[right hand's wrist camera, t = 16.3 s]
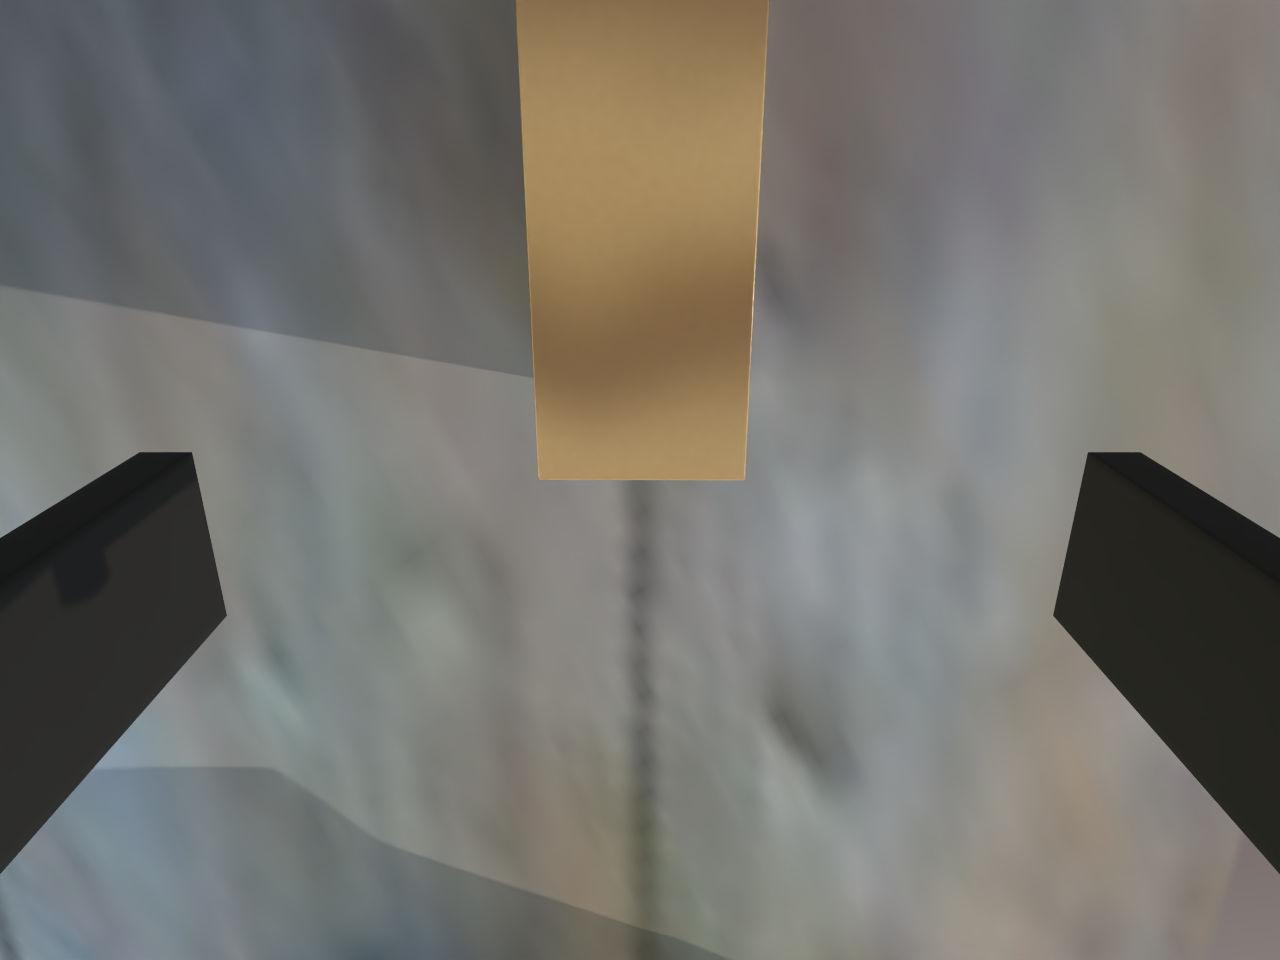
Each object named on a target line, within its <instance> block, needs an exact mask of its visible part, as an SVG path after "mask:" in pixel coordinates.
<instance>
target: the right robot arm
mask: <svg viewBox="0 0 1280 960" xmlns="http://www.w3.org/2000/svg"><path fill="white" fill-rule="evenodd" d="M226 616H227V614H226V610H225V605H224V600H223V596H222V591H221V586H220V582H219V577H218V572H217V568H216V563H215V558H214V553H213V549H212V544H211V539H210V535H209V530H208V525H207V521H206V516H205V511H204V507H203V502H202V497H201V493H200V488H199V483H198V479H197V474H196V469H195V464H194V460H193V455H192V452H139V453H138V454H136V455H135V456H133V457H131V458H130V459H128V460H126V461H125V462H123V463H122V464H120V465H118V466H117V467H115V468H114V469H112V470H110V471H109V472H107V473H105V474H104V475H102V476H101V477H99V478H97V479H96V480H94V481H92V482H91V483H89V484H88V485H86V486H84V487H83V488H81V489H79V490H78V491H76V492H75V493H73V494H71V495H70V496H68V497H66V498H65V499H63V500H62V501H60V502H58V503H57V504H55V505H53V506H52V507H50V508H49V509H47V510H45V511H44V512H42V513H40V514H39V515H37V516H36V517H34V518H32V519H31V520H29V521H27V522H26V523H24V524H23V525H21V526H19V527H18V528H16V529H14V530H13V531H11V532H10V533H8V534H6V535H5V536H3V537H1V538H0V874H1V873H2V871H3V870H4V869H5V868H6V867H7V866H8V865H9V863H10V862H11V861H12V860H13V859H14V858H15V857H16V855H17V854H18V853H19V852H20V851H21V850H22V849H23V847H24V846H25V845H26V844H27V843H28V842H29V841H30V839H31V838H32V837H33V836H34V835H35V834H36V833H37V831H38V830H39V829H40V828H41V827H42V826H43V825H44V823H45V822H46V821H47V820H48V819H49V818H50V817H51V815H52V814H53V813H54V812H55V811H56V810H57V809H58V807H59V806H60V805H61V804H62V803H63V802H64V801H65V800H66V798H67V797H68V796H69V795H70V794H71V793H72V792H73V790H74V789H75V788H76V787H77V786H78V785H79V784H80V782H81V781H82V780H83V779H84V778H85V777H86V776H87V774H88V773H89V772H90V771H91V770H92V769H93V768H94V766H95V765H96V764H97V763H98V762H99V761H100V760H101V758H102V757H103V756H104V755H105V754H106V753H107V752H108V750H109V749H110V748H111V747H112V746H113V745H114V744H115V742H116V741H117V740H118V739H119V738H120V737H121V736H122V735H123V733H124V732H125V731H126V730H127V729H128V728H129V727H130V725H131V724H132V723H133V722H134V721H135V720H136V719H137V717H138V716H139V715H140V714H141V713H142V712H143V711H144V709H145V708H146V707H147V706H148V705H149V704H150V703H151V701H152V700H153V699H154V698H155V697H156V696H157V695H158V693H159V692H160V691H161V690H162V689H163V688H164V687H165V685H166V684H167V683H168V682H169V681H170V680H171V679H172V677H173V676H174V675H175V674H176V673H177V672H178V671H179V669H180V668H181V667H182V666H183V665H184V664H185V663H186V662H187V660H188V659H189V658H190V657H191V656H192V655H193V654H194V652H195V651H196V650H197V649H198V648H199V647H200V646H201V644H202V643H203V642H204V641H205V640H206V639H207V638H208V636H209V635H210V634H211V633H212V632H213V631H214V630H215V628H216V627H217V626H218V625H219V624H220V623H221V622H222V620H223V619H224V618H225V617H226ZM1053 616H1054V617H1055V618H1056V619H1057V620H1058V622H1059V623H1060V624H1061V625H1062V626H1063V627H1064V628H1065V630H1066V631H1067V632H1068V633H1069V634H1070V635H1071V636H1072V638H1073V639H1074V640H1075V641H1076V642H1077V643H1078V644H1079V646H1080V647H1081V648H1082V649H1083V650H1084V651H1085V652H1086V654H1087V655H1088V656H1089V657H1090V658H1091V659H1092V660H1093V662H1094V663H1095V664H1096V665H1097V666H1098V667H1099V668H1100V669H1101V671H1102V672H1103V673H1104V674H1105V675H1106V676H1107V677H1108V679H1109V680H1110V681H1111V682H1112V683H1113V684H1114V685H1115V687H1116V688H1117V689H1118V690H1119V691H1120V692H1121V693H1122V695H1123V696H1124V697H1125V698H1126V699H1127V700H1128V701H1129V703H1130V704H1131V705H1132V706H1133V707H1134V708H1135V709H1136V711H1137V712H1138V713H1139V714H1140V715H1141V716H1142V717H1143V719H1144V720H1145V721H1146V722H1147V723H1148V724H1149V725H1150V727H1151V728H1152V729H1153V730H1154V731H1155V732H1156V733H1157V735H1158V736H1159V737H1160V738H1161V739H1162V740H1163V741H1164V742H1165V744H1166V745H1167V746H1168V747H1169V748H1170V749H1171V750H1172V752H1173V753H1174V754H1175V755H1176V756H1177V757H1178V758H1179V760H1180V761H1181V762H1182V763H1183V764H1184V765H1185V766H1186V768H1187V769H1188V770H1189V771H1190V772H1191V773H1192V774H1193V776H1194V777H1195V778H1196V779H1197V780H1198V781H1199V782H1200V784H1201V785H1202V786H1203V787H1204V788H1205V789H1206V790H1207V792H1208V793H1209V794H1210V795H1211V796H1212V797H1213V798H1214V800H1215V801H1216V802H1217V803H1218V804H1219V805H1220V806H1221V808H1222V809H1223V810H1224V811H1225V812H1226V813H1227V814H1228V815H1229V817H1230V818H1231V819H1232V820H1233V821H1234V822H1235V823H1236V825H1237V826H1238V827H1239V828H1240V829H1241V830H1242V831H1243V833H1244V834H1245V835H1246V836H1247V837H1248V838H1249V839H1250V841H1251V842H1252V843H1253V844H1254V845H1255V846H1256V847H1257V849H1258V850H1259V851H1260V852H1261V853H1262V854H1263V855H1264V857H1265V858H1266V859H1267V860H1268V861H1269V862H1270V863H1271V864H1272V866H1273V867H1274V868H1275V869H1276V870H1277V871H1278V872H1279V874H1280V538H1279V537H1277V536H1275V535H1274V534H1272V533H1270V532H1269V531H1267V530H1266V529H1264V528H1262V527H1261V526H1259V525H1257V524H1256V523H1254V522H1253V521H1251V520H1249V519H1248V518H1246V517H1244V516H1243V515H1241V514H1240V513H1238V512H1236V511H1235V510H1233V509H1231V508H1230V507H1228V506H1227V505H1225V504H1223V503H1222V502H1220V501H1218V500H1217V499H1215V498H1214V497H1212V496H1210V495H1209V494H1207V493H1205V492H1204V491H1202V490H1201V489H1199V488H1197V487H1196V486H1194V485H1192V484H1191V483H1189V482H1188V481H1186V480H1184V479H1183V478H1181V477H1179V476H1178V475H1176V474H1175V473H1173V472H1171V471H1170V470H1168V469H1166V468H1165V467H1163V466H1162V465H1160V464H1158V463H1157V462H1155V461H1153V460H1152V459H1150V458H1149V457H1147V456H1145V455H1144V454H1142V453H1141V452H1088V455H1087V460H1086V464H1085V469H1084V474H1083V478H1082V483H1081V488H1080V493H1079V497H1078V502H1077V507H1076V511H1075V516H1074V521H1073V525H1072V530H1071V535H1070V539H1069V544H1068V549H1067V553H1066V558H1065V563H1064V568H1063V572H1062V577H1061V582H1060V586H1059V591H1058V596H1057V600H1056V605H1055V610H1054V614H1053Z"/></svg>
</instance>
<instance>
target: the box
mask: <svg viewBox="0 0 1280 960" xmlns="http://www.w3.org/2000/svg"><path fill="white" fill-rule="evenodd" d="M515 2H516V23H517V44H518V64H519V85H520V106H521V127H522V148H523V169H524V189H525V210H526V231H527V252H528V273H529V294H530V314H531V335H532V356H533V377H534V398H535V419H536V439H537V460H538V478H539V480H744V479H745V467H746V448H747V428H748V408H749V389H750V369H751V350H752V330H753V311H754V291H755V271H756V252H757V232H758V213H759V193H760V173H761V154H762V134H763V115H764V95H765V75H766V56H767V36H768V17H769V0H515Z"/></svg>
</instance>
